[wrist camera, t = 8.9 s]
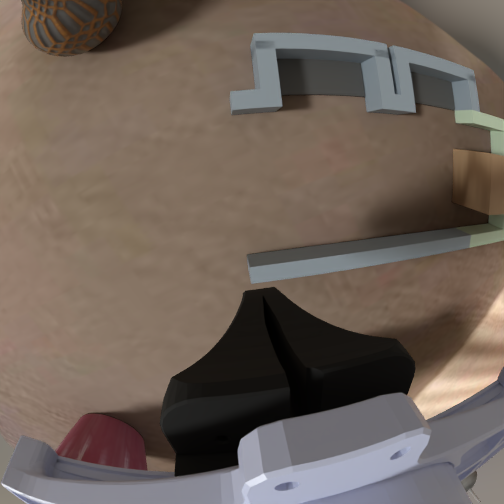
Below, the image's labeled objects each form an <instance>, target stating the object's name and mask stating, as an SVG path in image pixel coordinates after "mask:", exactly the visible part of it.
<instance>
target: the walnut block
mask: <svg viewBox="0 0 504 504" xmlns="http://www.w3.org/2000/svg"><path fill="white" fill-rule="evenodd" d="M452 202H453V203H456V204H459V205H462V206H465V207H467V208H470V209H473V210H476V211H479V212H482V213H484V214H487V215H500V214H504V156H501V155H496V154H492V153H485V152H477V151H469V150H459V149H453V192H452Z"/></svg>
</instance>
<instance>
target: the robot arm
mask: <svg viewBox="0 0 504 504" xmlns="http://www.w3.org/2000/svg"><path fill="white" fill-rule="evenodd" d="M414 373H415V361H414V360H413V359H412V357H411V356H410V355H409V353H408V352H407V351H406V349H405V348H404V347H403V346H402V345H401V344H400V342H399V341H398V340H397V339H391V338H382V337H374V336H369V335H364V334H359V333H355V332H352V331H348V330H345V329H342V328H339V327H336V326H334V325H331V324H329V323H327V322H325V321H323V320H320V319H318V318H316V317H315V316H313V315H311V314H309V313H308V312H306V311H305V310H303V309H301V308H300V307H299V306H297V305H296V304H295V303H293V302H292V301H291V300H289V299H288V298H287V297H286V296H285V295H283V294H282V293H281V292H280V291H279V290H278V289H276V288H275V287H271V288H263V289H256V290H248V291H245V292H244V293H243V298H242V301H241V304H240V307H239V309H238V311H237V314H236V316H235V318H234V319H233V321H232V323H231V325H230V326H229V328H228V330H227V331H226V333H225V334H224V335H223V337H222V338H221V339H220V340H219V342H218V343H217V344H216V345H215V346H214V347H213V348H212V349H211V350H210V351H209V352H208V353H207V354H206V355H205V356H204V357H202V358H201V359H200V360H199V361H197V362H196V363H195V364H193V365H192V366H190V367H189V368H187V369H185V370H184V371H182V372H180V373H179V374H177V375H175V376H173V377H172V378H171V380H170V383H169V385H168V388H167V391H166V394H165V396H164V400H163V405H162V412H161V419H160V426H161V429H162V431H163V433H164V435H165V436H166V438H167V440H168V441H169V443H170V445H171V446H172V448H173V449H174V451H175V453H176V462H175V472H161V471H146V470H135V469H126V468H118V467H111V466H105V465H99V464H94V463H88V462H83V461H79V460H74V459H70V458H66V457H62V456H58V455H57V453H56V452H55V451H54V450H53V449H52V448H51V447H50V446H49V445H48V444H46V443H45V442H43V441H40V440H37V439H33V438H30V437H27V436H24V435H21V437H20V439H19V441H18V443H17V445H16V448H15V450H14V452H13V455H12V457H11V459H10V461H9V464H8V466H7V469H6V471H5V474H4V476H3V479H2V481H1V484H2V486H4V487H5V488H6V489H7V490H9V491H10V492H11V493H13V494H14V495H15V496H17V497H18V498H20V499H21V500H22V501H24V502H25V503H27V504H473V503H472V502H471V500H470V498H469V496H468V494H467V492H466V490H465V489H464V487H463V485H462V483H461V481H462V480H463V479H465V478H466V477H468V476H469V475H470V474H472V473H473V472H474V471H476V470H477V469H478V468H480V467H481V466H482V465H483V464H485V463H486V462H487V461H488V460H490V459H491V458H492V457H493V456H494V455H496V454H497V453H498V452H499V451H500V450H502V449H503V448H504V367H503V369H502V370H501V372H500V374H499V376H498V380H497V381H495V382H494V383H492V384H491V385H489V386H487V387H486V388H484V389H483V390H481V391H480V392H478V393H476V394H475V395H473V396H471V397H470V398H468V399H466V400H464V401H463V402H461V403H459V404H457V405H455V406H454V407H452V408H450V409H448V410H446V411H444V412H442V413H440V414H438V415H436V416H434V417H432V418H430V419H428V420H425V418H424V417H423V415H422V414H421V412H420V411H419V409H418V408H417V406H416V405H415V403H414V401H413V400H412V398H411V397H409V396H407V394H408V391H409V388H410V386H411V383H412V380H413V377H414Z"/></svg>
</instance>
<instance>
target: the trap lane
mask: <svg viewBox="0 0 504 504" xmlns="http://www.w3.org/2000/svg"><path fill="white" fill-rule="evenodd" d="M250 47H251V55H252V64H253V72H254V81H255V89H254V90H241V91H231V92H230V107H231V115H239V114H250V113H263V112H276V111H277V110H278V109H280V108H281V107H282V98H281V95H340V96H357V97H365V101H366V109H367V112H374V113H386V114H397V115H400V114H408V113H416V108H415V103H418V104H424V105H430V106H435V107H440V108H445V109H450V110H455V119H456V123H458V124H463V125H468V126H472V127H477V128H481V129H485V130H489V131H490V135H491V153H492V154H496V155H501V156H504V120H503V119H500V118H497V117H494V116H491V115H488V114H485V113H481V112H480V109H479V101H478V94H477V87H476V81H475V76H474V70H471V69H469V68H466V67H464V66H461V65H458V64H456V63H453V62H450V61H447V60H444V59H441V58H438V57H435V56H432V55H428V54H425V53H421V52H418V51H414V50H410V49H406V48H402V47H398V46H391V47H389V48H387V45H386V44H384V43H379V42H373V41H368V40H362V39H355V38H348V37H339V36H330V35H318V34H301V33H254V35H253V38H252V42H251V46H250ZM503 240H504V214H500V215H489V220H488V223H487V224H480V225H472V226H464V227H457V228H449V229H442V230H434V231H426V232H419V233H411V234H403V235H396V236H388V237H380V238H373V239H365V240H357V241H349V242H342V243H334V244H326V245H318V246H311V247H303V248H295V249H287V250H279V251H272V252H264V253H256V254H248V255H247V261H248V270H249V275H250V279H251V284H253V283H261V282H268V281H275V280H282V279H289V278H296V277H303V276H310V275H317V274H323V273H330V272H336V271H343V270H349V269H355V268H361V267H367V266H373V265H379V264H385V263H391V262H396V261H402V260H408V259H413V258H419V257H424V256H429V255H435V254H440V253H445V252H450V251H455V250H460V249H465V248H470V247H475V246H480V245H485V244H489V243H494V242H499V241H503Z"/></svg>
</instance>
